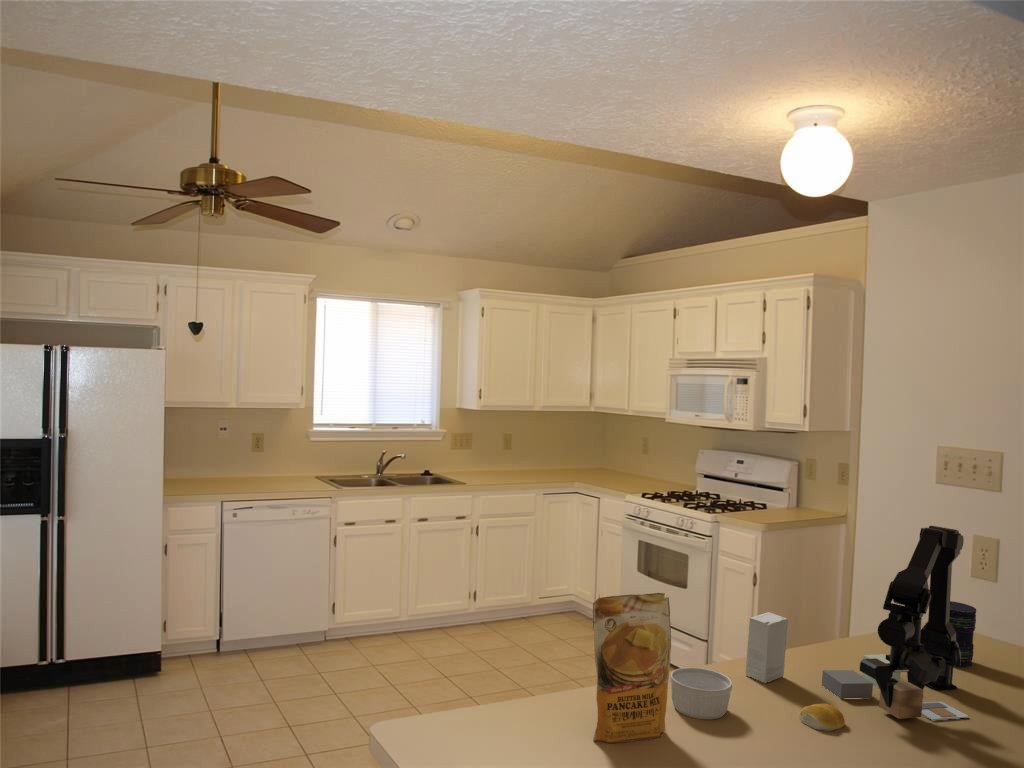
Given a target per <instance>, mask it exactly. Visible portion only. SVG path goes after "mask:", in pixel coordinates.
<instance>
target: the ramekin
mask: <svg viewBox="0 0 1024 768" xmlns="http://www.w3.org/2000/svg"><path fill="white" fill-rule="evenodd" d="M669 680H670V683H671V700H672V704H673V706H674V707H675V709H676V710H677V711H678V712H679V713H680V714H682V715H684V716H687V717H689V718H693V719H698V720H716V719H720V718H721V717H723V715H725V714H726V712H727V711H728V708H729V707H728V706H729V704H730V703H729V702H730V698H731V692H732V690H733V682H732V680H731V679H730V678H729V677H728V676H727V675H726V674H723V673H721V672H719V671H715V670H712V669H708V668H701V667H692V666H691V667H680V668H676V669H674V670H672V671H671V672H670V675H669Z"/></svg>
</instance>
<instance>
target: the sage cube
mask: <svg viewBox="0 0 1024 768" xmlns="http://www.w3.org/2000/svg"><path fill="white" fill-rule="evenodd" d="M886 655H887V654H883V653H881V654H864V655H863V659H873V658H877V659H878V660H880V661H882V662H884V663H890V661H888V660H886ZM863 659H862V660H863ZM897 668H898V667H897ZM861 674H862V675H861V676H863V677H864V678H866V679H867V680H869V681H870V682H872V683H873V686H874V685H875V686H877V687H878V688H877V687H876V688H877V689H880V688H879V686H878V684H877V682H876V680H875V679H873V678H872V677H870V676H868V675H866V674H865V673H863V672H861ZM901 674H902V672H895V673H894V679H896V680H900V679H901ZM875 686H874V687H875Z"/></svg>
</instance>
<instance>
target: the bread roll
mask: <svg viewBox="0 0 1024 768" xmlns="http://www.w3.org/2000/svg"><path fill="white" fill-rule="evenodd" d="M798 715H799V716H798V717H799V720H800V721H801V723H802V724H804V725H806V726H808V727H810V728H811V729H815V730H817V731H824V732H826V731H827V732H830V731H835V730H838V729H842V728H843V727H844V726H845V723H846V721H845V718H844V717H845V716H844V714H843V713H842V712H841V711H840V710H839V709H838V707H835V706H834V705H831V704H829V703H814V704H811V705H806V706H804V707H803V708H802V709H801V710H800V711H799V714H798Z"/></svg>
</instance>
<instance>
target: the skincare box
mask: <svg viewBox="0 0 1024 768" xmlns="http://www.w3.org/2000/svg"><path fill="white" fill-rule="evenodd" d="M788 623H789V619H788V618H786V617H784V616H781V615H778V614H775V613H773V612H769V611H768V612H765V613H760V614H758V615H755V616H751V617H749V625H748V626H749V627H748V635H747V636H748V637H747V649H746V662H745V664H746V665H745V676H747V677H748V678H750V677H752V678H751V679H753V678H754V679H753V680H755V679H757V680H756V681H758V680H759V681H758V682H760V681H762V682H764V683H763V684H768V683H770V682H772V680H773V681H775V680H777V679H781V678H782V677H784V675H785V674H784V673H785V661H786V660H785V659H786V651H787V650H786V647H787V638H788V637H787V636H788ZM762 682H761V683H762ZM767 682H768V683H767Z"/></svg>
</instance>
